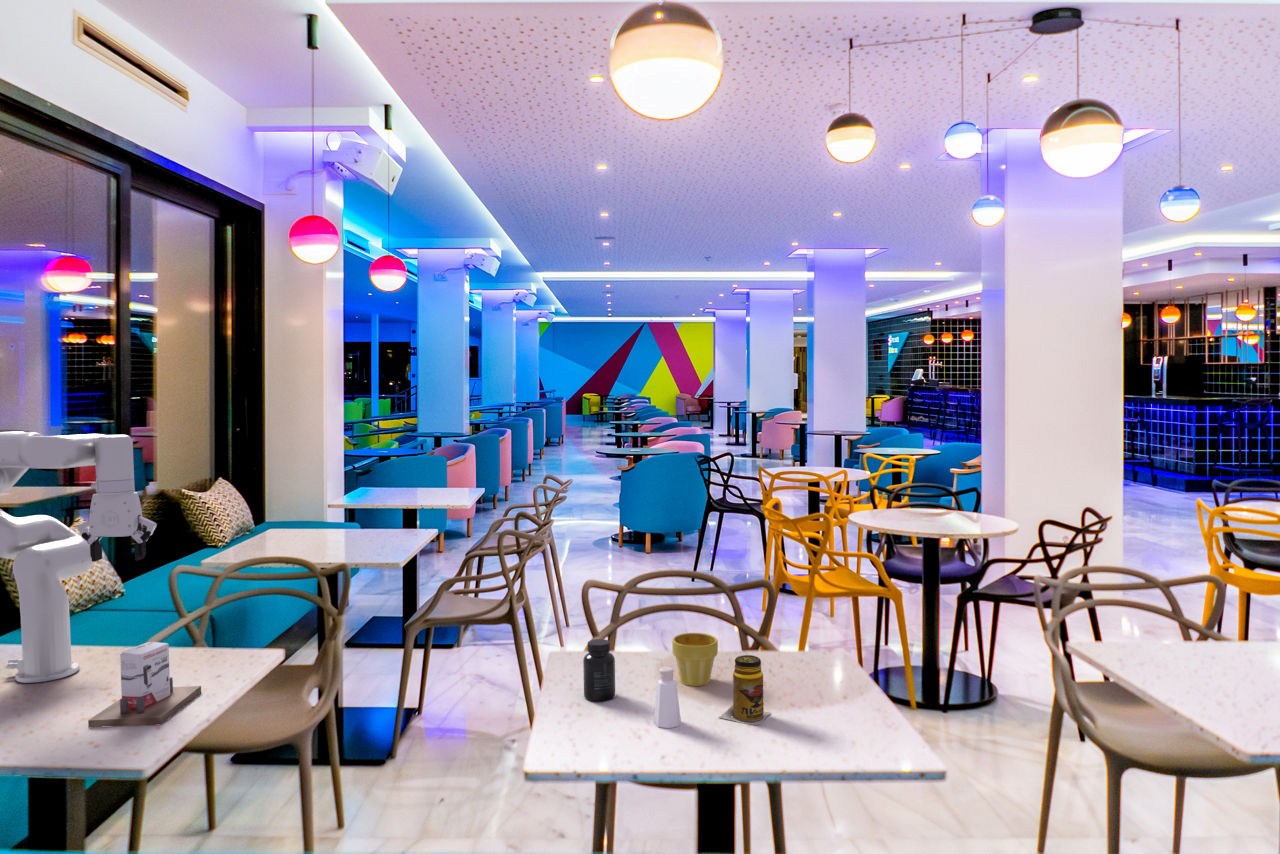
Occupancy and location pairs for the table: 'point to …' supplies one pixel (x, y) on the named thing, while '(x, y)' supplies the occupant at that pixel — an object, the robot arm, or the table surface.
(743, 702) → the condiment
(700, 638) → the plant pot
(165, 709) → the pin dock
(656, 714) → the salt shaker
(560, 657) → the table surface
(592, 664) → the supplement bottle
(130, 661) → the ink box
